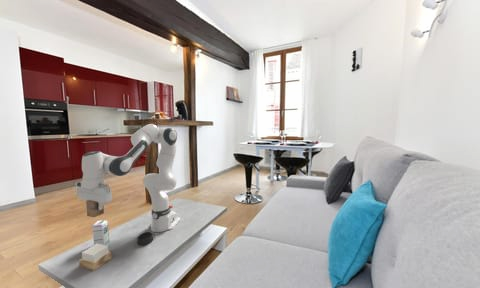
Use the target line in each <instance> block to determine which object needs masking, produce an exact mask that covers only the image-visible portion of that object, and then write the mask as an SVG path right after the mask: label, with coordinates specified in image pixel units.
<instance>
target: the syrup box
mask: <svg viewBox="0 0 480 288" xmlns="http://www.w3.org/2000/svg"><path fill="white" fill-rule="evenodd" d="M108 224H109V223H108V219H107V220H106V219H103V220H97V221H96V222H95V223H94V224H93V225H91V226H92V228H91V229H92V235H93V237H92V238H93V246H94V245H95V244H102V245H107V246H108V244H109V242H110V236H109V235H110V233H109V225H108Z"/></svg>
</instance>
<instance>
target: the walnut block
mask: <svg viewBox="0 0 480 288" xmlns="http://www.w3.org/2000/svg"><path fill="white" fill-rule="evenodd" d="M85 203H86V204H85V205H86V216H87V217H90V218H96V217H98V216H101V215H103V214H104V213H105V211H104V205H103V209H102V210H97V207H98V206H99V204H98V202H95V201H89V200H88V201H86V200H85Z"/></svg>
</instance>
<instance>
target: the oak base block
mask: <svg viewBox="0 0 480 288" xmlns="http://www.w3.org/2000/svg"><path fill="white" fill-rule="evenodd" d="M108 251H109V253H107V254H106V255H104V256H103V257H102V258H100V259H99V260H97V261H96V262H94V263H93V262H89V261H85V260H82V258H80V259H79V260H78V263H79V267H80V268H83V269H87V270H89V271H95V270H97V269H98V268H100V267H101V266H102V265H104V264H106V263H107V262H108V261H110V260H111V259H112V258H113V255H112V254H113V253H112V251H111V250H108Z"/></svg>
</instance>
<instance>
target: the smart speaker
mask: <svg viewBox="0 0 480 288" xmlns="http://www.w3.org/2000/svg"><path fill="white" fill-rule="evenodd" d="M153 240H154V232H152V231H147V232H143V233H141V234H139V235H138V237H137V243H138V245H141V246H145V245H148V244H150V243H151V242H153Z"/></svg>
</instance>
